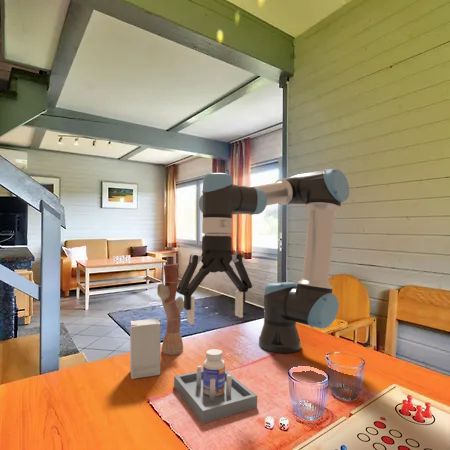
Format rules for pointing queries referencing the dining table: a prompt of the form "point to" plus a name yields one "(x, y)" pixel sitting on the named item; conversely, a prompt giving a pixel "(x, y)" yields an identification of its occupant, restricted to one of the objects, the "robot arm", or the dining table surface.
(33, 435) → the dining table surface
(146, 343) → the skincare box
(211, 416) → the tray
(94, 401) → the dining table surface
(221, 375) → the pill bottle
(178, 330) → the wooden tree sculpture
